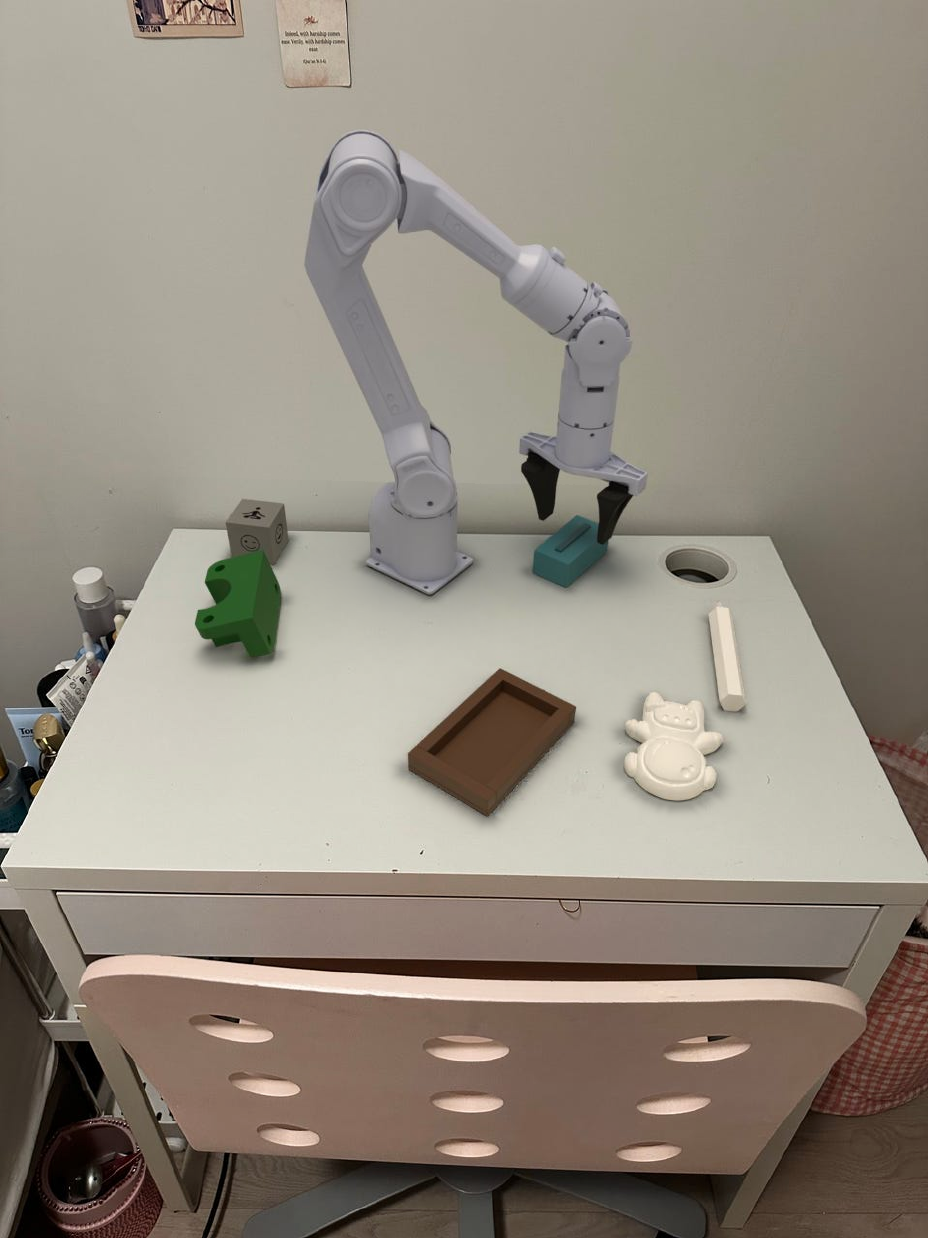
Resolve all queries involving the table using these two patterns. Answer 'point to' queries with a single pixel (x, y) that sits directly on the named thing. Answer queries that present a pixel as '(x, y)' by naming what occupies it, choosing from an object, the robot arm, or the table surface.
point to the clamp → (242, 604)
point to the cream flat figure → (671, 749)
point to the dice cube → (258, 529)
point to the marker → (726, 659)
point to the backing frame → (491, 740)
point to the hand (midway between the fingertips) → (574, 527)
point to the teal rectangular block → (568, 551)
